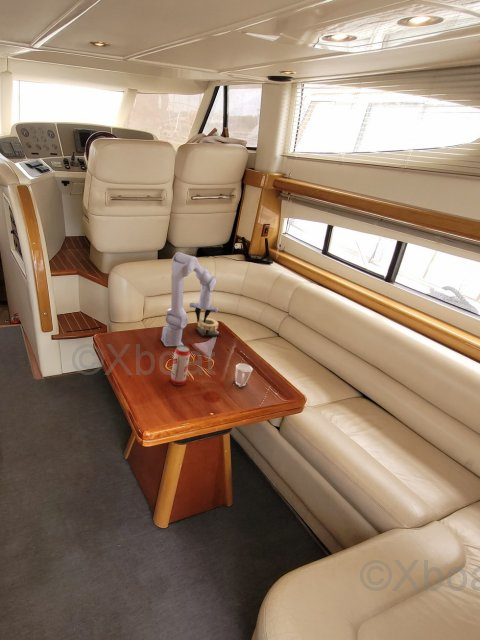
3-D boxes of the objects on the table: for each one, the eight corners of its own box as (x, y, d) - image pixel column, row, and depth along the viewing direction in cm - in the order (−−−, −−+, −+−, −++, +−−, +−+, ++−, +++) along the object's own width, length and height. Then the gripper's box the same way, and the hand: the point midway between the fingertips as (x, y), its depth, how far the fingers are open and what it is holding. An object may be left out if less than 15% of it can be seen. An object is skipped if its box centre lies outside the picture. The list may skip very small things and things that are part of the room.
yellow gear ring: (202, 330, 198) (203, 326, 197) (195, 322, 207) (195, 318, 206) (220, 330, 201) (221, 325, 200) (212, 321, 210) (213, 317, 209)
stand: (202, 337, 201) (204, 327, 198) (195, 329, 209) (197, 320, 206) (218, 336, 204) (219, 326, 201) (211, 329, 211) (212, 319, 208)
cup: (248, 381, 167) (253, 365, 163) (248, 393, 158) (252, 376, 154) (232, 377, 168) (236, 361, 164) (231, 389, 159) (235, 373, 155)
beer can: (185, 379, 164) (190, 345, 156) (185, 387, 158) (190, 353, 150) (170, 377, 164) (175, 343, 156) (170, 385, 159) (174, 351, 151)
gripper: (220, 298, 199) (215, 322, 206) (193, 293, 203) (189, 316, 210) (218, 302, 193) (213, 327, 200) (190, 297, 197) (186, 321, 204)
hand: (201, 322), depth 204 cm, fingers closed on yellow gear ring, 2 cm apart
